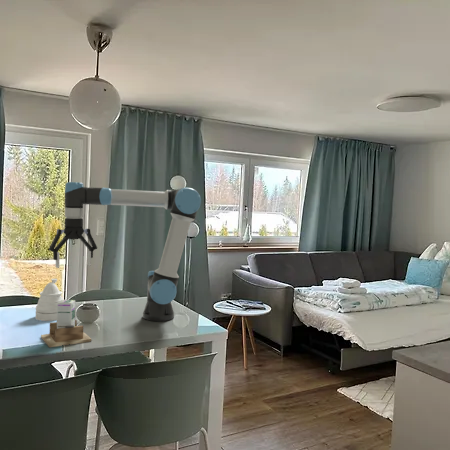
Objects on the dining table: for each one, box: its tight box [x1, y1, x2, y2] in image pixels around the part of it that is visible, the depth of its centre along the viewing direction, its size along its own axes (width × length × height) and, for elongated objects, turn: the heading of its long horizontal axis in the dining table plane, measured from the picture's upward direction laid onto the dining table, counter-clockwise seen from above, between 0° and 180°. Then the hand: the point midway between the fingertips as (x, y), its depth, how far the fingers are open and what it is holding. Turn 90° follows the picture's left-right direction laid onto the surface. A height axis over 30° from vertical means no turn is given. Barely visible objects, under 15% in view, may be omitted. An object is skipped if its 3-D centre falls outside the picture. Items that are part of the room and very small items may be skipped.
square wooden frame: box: [40, 319, 93, 348], centre depth 174 cm, size 16×14×7 cm
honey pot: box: [35, 278, 64, 322], centre depth 205 cm, size 13×13×18 cm
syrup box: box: [56, 299, 76, 329], centre depth 174 cm, size 6×6×14 cm
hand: (73, 266), depth 189 cm, fingers open, 13 cm apart
